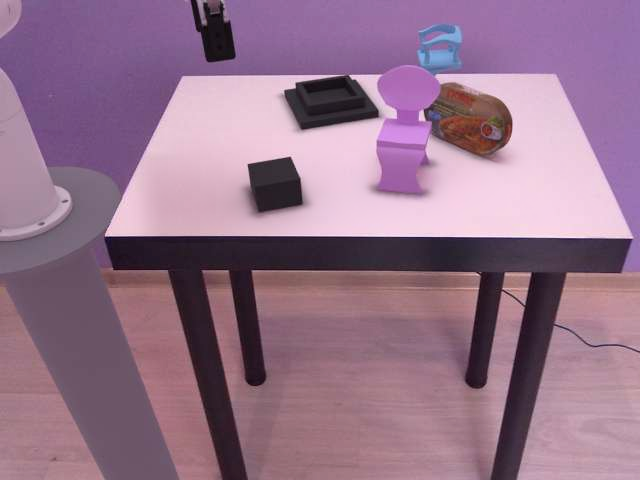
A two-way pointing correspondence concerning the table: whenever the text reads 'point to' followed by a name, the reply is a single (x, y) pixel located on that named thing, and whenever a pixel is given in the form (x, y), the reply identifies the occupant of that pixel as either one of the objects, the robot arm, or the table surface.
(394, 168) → the toy chair
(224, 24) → the robot arm
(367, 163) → the table surface
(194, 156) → the table surface
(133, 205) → the table surface
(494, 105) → the tin
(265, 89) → the table surface
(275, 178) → the black square block
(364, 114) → the base pad
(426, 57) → the chair
